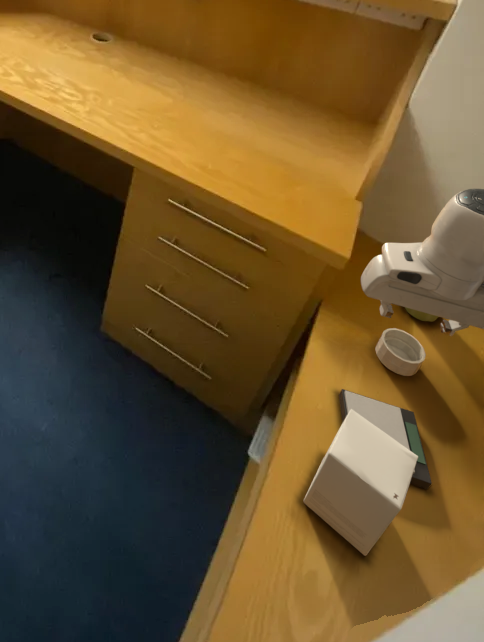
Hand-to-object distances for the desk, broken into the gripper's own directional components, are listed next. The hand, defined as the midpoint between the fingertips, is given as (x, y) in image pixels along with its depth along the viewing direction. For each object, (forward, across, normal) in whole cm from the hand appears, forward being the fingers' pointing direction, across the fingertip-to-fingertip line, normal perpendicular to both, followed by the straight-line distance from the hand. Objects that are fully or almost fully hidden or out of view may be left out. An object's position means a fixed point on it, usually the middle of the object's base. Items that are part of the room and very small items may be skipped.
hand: (414, 322), depth 91 cm
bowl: (+11, 0, 0) cm, 11 cm away
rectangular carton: (+12, +12, +28) cm, 33 cm away
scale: (+11, +5, +16) cm, 21 cm away
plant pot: (+11, -8, -14) cm, 19 cm away
